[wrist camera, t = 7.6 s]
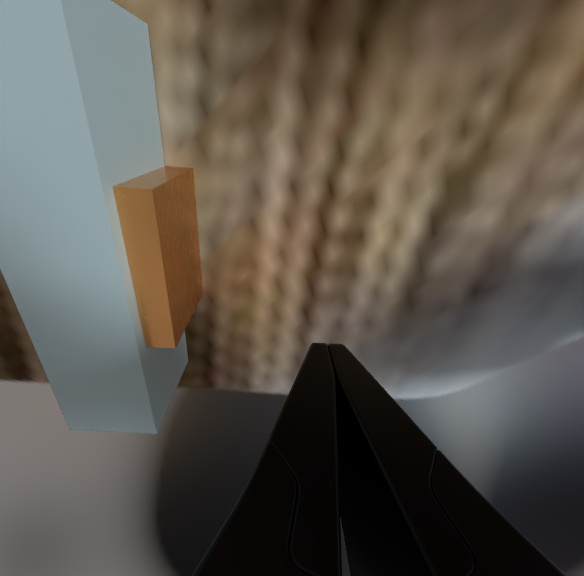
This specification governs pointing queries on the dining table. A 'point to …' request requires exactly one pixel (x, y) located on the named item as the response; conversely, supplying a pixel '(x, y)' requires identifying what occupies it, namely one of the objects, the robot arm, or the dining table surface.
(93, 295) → the block
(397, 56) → the dining table surface
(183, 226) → the pin
